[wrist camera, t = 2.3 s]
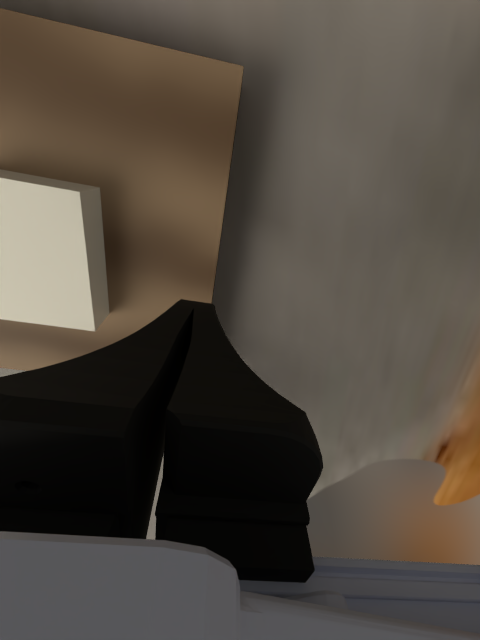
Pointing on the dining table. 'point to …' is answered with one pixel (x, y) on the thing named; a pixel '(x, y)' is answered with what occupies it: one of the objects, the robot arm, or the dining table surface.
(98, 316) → the tile
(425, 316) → the dining table surface
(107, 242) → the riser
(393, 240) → the dining table surface
